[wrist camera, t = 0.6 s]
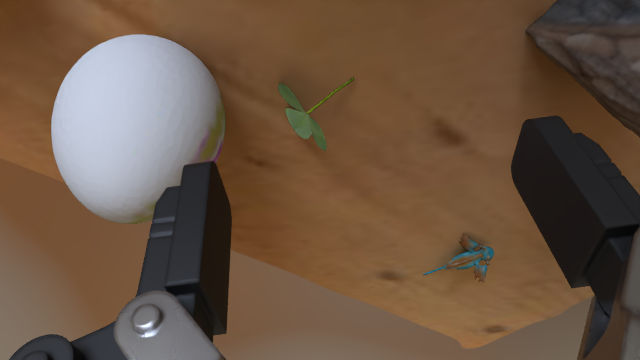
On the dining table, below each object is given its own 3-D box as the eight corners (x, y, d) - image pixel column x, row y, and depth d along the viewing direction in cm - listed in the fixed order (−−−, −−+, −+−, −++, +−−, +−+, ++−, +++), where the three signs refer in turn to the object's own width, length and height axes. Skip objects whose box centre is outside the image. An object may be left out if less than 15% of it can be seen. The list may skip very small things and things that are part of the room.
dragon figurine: (469, 282, 67) (509, 272, 60) (431, 297, 64) (469, 289, 57) (451, 239, 69) (489, 225, 62) (414, 252, 65) (449, 239, 58)
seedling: (319, 65, 46) (268, 104, 45) (335, 28, 38) (274, 74, 37) (365, 120, 46) (316, 160, 45) (390, 94, 38) (331, 142, 37)
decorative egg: (153, 153, 46) (122, 284, 35) (45, 61, 38) (-37, 195, 27) (255, 97, 42) (255, 224, 32) (160, -18, 34) (117, 100, 24)
